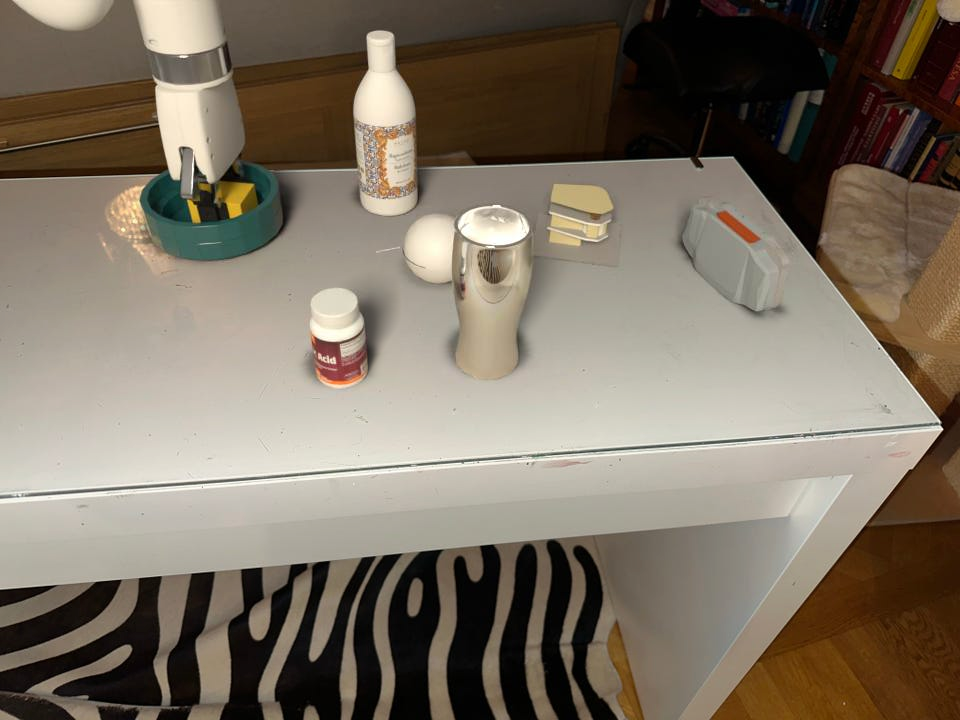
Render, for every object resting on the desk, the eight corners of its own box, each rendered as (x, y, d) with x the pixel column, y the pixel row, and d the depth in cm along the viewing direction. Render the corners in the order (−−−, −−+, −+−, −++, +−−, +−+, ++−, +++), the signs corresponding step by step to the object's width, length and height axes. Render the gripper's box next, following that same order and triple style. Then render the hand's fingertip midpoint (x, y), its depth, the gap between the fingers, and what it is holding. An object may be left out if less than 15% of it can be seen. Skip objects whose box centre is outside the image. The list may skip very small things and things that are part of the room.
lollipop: (472, 257, 84) (474, 200, 79) (471, 298, 78) (474, 239, 73) (382, 255, 84) (378, 197, 79) (376, 296, 78) (371, 236, 73)
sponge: (194, 230, 84) (186, 199, 81) (210, 209, 87) (202, 178, 85) (246, 235, 84) (240, 204, 81) (260, 214, 87) (254, 183, 84)
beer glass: (537, 357, 72) (553, 224, 62) (489, 395, 68) (498, 259, 58) (483, 325, 75) (489, 193, 65) (434, 359, 71) (433, 224, 61)
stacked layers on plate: (529, 255, 85) (533, 213, 81) (538, 213, 91) (542, 172, 87) (618, 267, 84) (626, 224, 80) (621, 224, 90) (629, 183, 86)
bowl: (128, 258, 82) (115, 219, 78) (183, 190, 92) (174, 153, 89) (259, 272, 81) (251, 232, 77) (299, 202, 91) (294, 164, 88)
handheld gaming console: (776, 320, 78) (802, 256, 72) (754, 327, 77) (777, 262, 71) (693, 246, 87) (710, 184, 82) (672, 251, 86) (687, 189, 81)
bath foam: (379, 224, 88) (367, 52, 75) (350, 198, 92) (334, 30, 79) (428, 207, 91) (426, 39, 78) (398, 183, 95) (391, 19, 82)
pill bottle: (306, 371, 70) (294, 300, 64) (347, 348, 72) (339, 277, 66) (337, 398, 67) (328, 326, 62) (379, 373, 70) (373, 302, 64)
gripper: (188, 27, 80) (222, 181, 92) (111, 92, 67) (163, 260, 80) (257, 32, 79) (282, 187, 91) (192, 99, 67) (232, 267, 79)
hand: (226, 219), depth 85 cm, fingers closed on sponge, 4 cm apart
